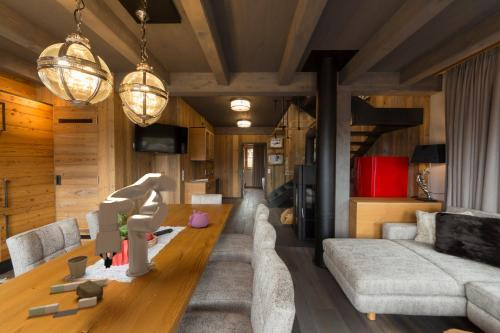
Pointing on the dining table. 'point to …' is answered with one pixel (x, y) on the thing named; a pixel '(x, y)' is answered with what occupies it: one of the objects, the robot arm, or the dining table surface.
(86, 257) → the flower pot
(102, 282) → the set of beige bars
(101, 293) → the stone block
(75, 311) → the mat
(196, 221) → the teapot
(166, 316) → the dining table surface
